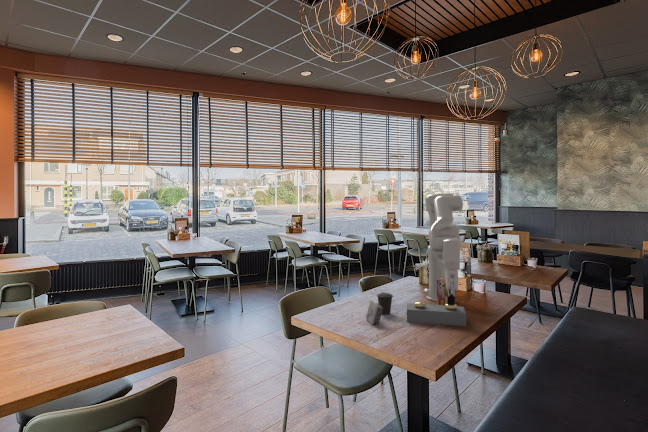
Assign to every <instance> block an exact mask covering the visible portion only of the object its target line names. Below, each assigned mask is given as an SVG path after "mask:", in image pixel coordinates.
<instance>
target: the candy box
mask: <svg viewBox="0 0 648 432" xmlns="http://www.w3.org/2000/svg"><path fill="white" fill-rule="evenodd" d="M447 295H448V290H447V288H446V282H445V279H444V278H439V279H437V301H436V305H445V304H446V303H447Z"/></svg>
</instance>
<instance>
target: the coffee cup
mask: <svg viewBox="0 0 648 432" xmlns="http://www.w3.org/2000/svg"><path fill="white" fill-rule="evenodd" d="M376 297H377V301H378V304H379V305H380V306H381V307H382V308H383V311H382V314H381V316H388V315H391V312H392V301H393V297H394V296H393V294H391V293H389V292H380V293H377V294H376Z"/></svg>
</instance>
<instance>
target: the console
mask: <svg viewBox="0 0 648 432" xmlns="http://www.w3.org/2000/svg"><path fill="white" fill-rule="evenodd" d="M406 322H407V323H417V324H418V323H419V324H427V323H429V325H431V324H432V325H441V324H442V325H444V326H457V327H467V312H466V309H465V307H464V306H461V305H457V309H456V310H448V309H446V308H445V305H437V304H427V303H425V308H416V307H415V303H408V302H407V303H406Z"/></svg>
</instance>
